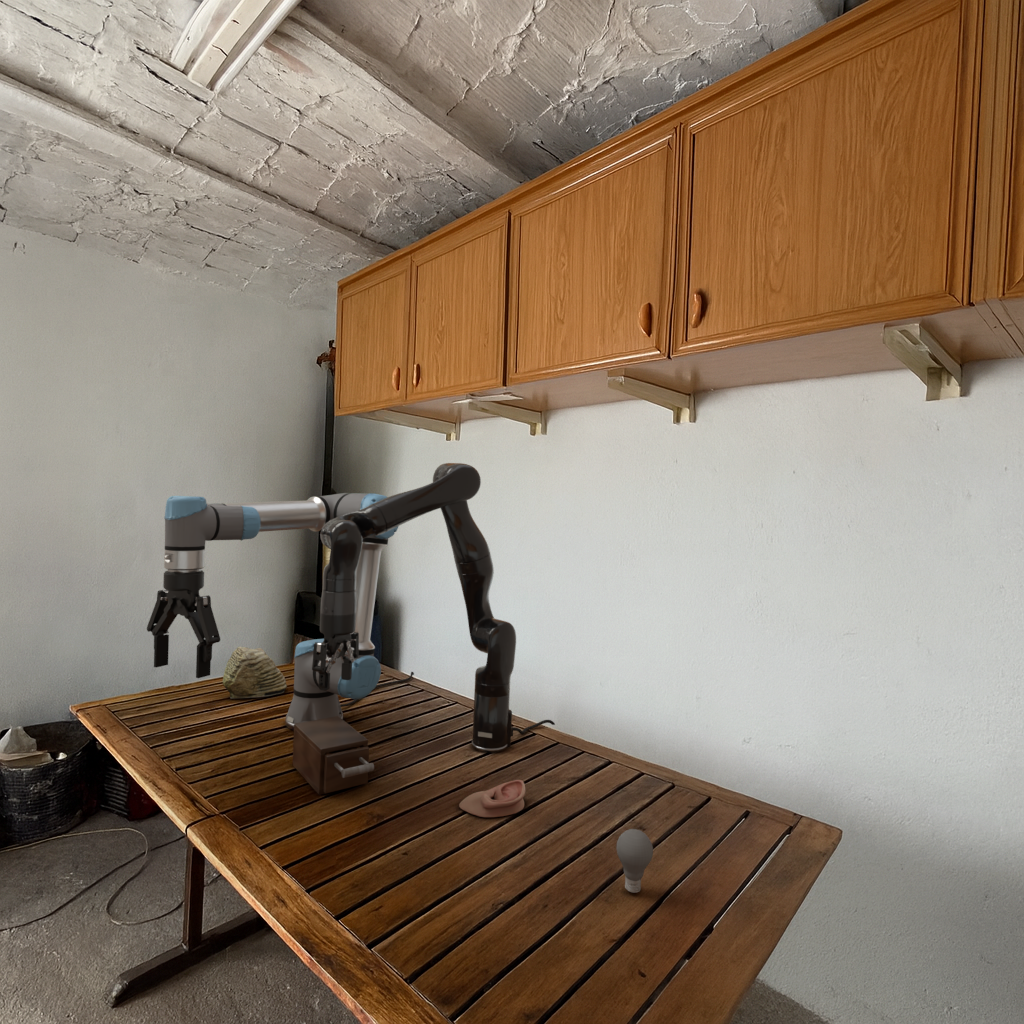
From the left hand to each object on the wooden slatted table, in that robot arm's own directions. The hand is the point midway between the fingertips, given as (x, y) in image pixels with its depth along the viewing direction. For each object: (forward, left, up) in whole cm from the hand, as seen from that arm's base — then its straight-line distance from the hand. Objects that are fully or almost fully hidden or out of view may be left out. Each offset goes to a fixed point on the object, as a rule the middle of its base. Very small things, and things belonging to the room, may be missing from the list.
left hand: (181, 671), depth 132 cm
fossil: (-44, -49, -26) cm, 71 cm away
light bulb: (-35, +88, -26) cm, 98 cm away
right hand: (-24, +20, -3) cm, 31 cm away
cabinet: (-27, +15, -26) cm, 40 cm away
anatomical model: (-41, +52, -26) cm, 71 cm away
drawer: (-25, +20, -25) cm, 41 cm away
